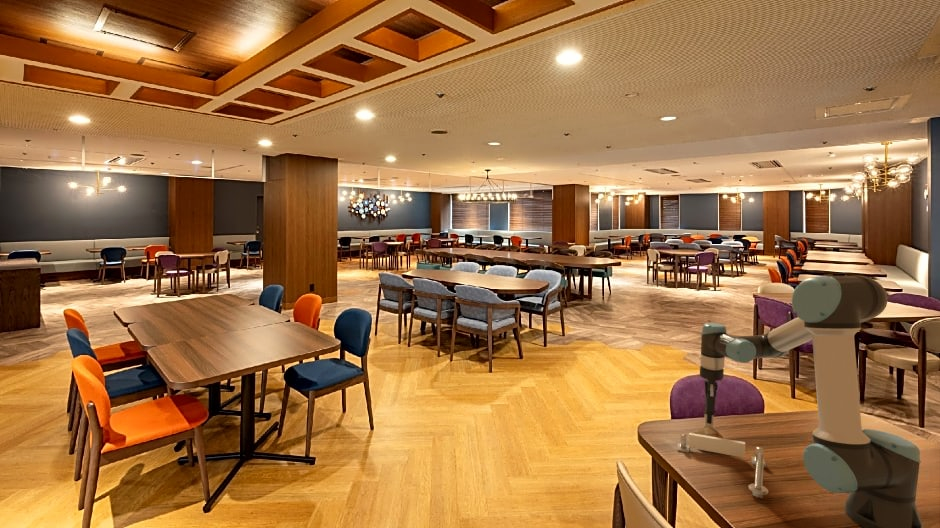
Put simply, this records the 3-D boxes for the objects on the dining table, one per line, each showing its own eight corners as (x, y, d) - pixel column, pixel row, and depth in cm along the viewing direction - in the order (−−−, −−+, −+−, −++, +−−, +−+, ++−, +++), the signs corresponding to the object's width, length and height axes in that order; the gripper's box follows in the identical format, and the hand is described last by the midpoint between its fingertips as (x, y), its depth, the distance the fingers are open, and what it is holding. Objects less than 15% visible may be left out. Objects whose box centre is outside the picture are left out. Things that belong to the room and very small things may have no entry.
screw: (760, 502, 130) (744, 492, 135) (771, 498, 132) (755, 489, 137) (763, 457, 129) (746, 449, 133) (774, 454, 131) (758, 446, 135)
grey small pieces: (765, 467, 149) (766, 452, 148) (677, 450, 159) (678, 436, 159) (763, 460, 153) (764, 446, 152) (677, 445, 163) (678, 431, 163)
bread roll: (690, 455, 163) (690, 439, 160) (693, 432, 171) (694, 416, 167) (723, 462, 158) (723, 446, 155) (724, 439, 166) (725, 423, 162)
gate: (744, 457, 152) (745, 444, 152) (688, 447, 159) (689, 434, 158) (743, 455, 154) (744, 442, 153) (688, 445, 160) (689, 432, 160)
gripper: (699, 360, 173) (696, 421, 175) (700, 370, 161) (697, 436, 164) (722, 363, 170) (718, 425, 172) (725, 373, 158) (721, 440, 161)
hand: (708, 430), depth 168 cm, fingers closed
